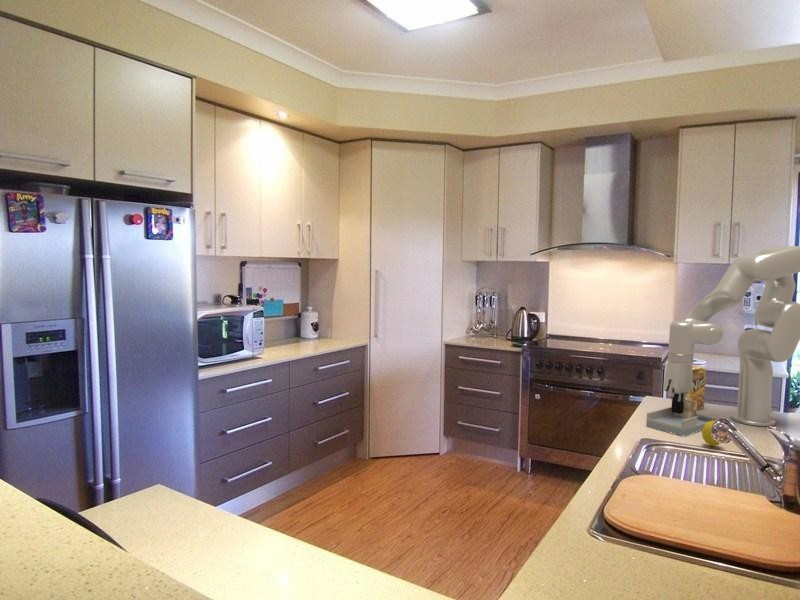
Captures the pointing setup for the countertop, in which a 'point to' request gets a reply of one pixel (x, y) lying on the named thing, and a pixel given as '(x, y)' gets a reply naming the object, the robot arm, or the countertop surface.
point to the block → (688, 409)
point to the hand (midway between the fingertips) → (677, 412)
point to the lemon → (708, 434)
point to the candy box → (698, 387)
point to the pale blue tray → (676, 422)
